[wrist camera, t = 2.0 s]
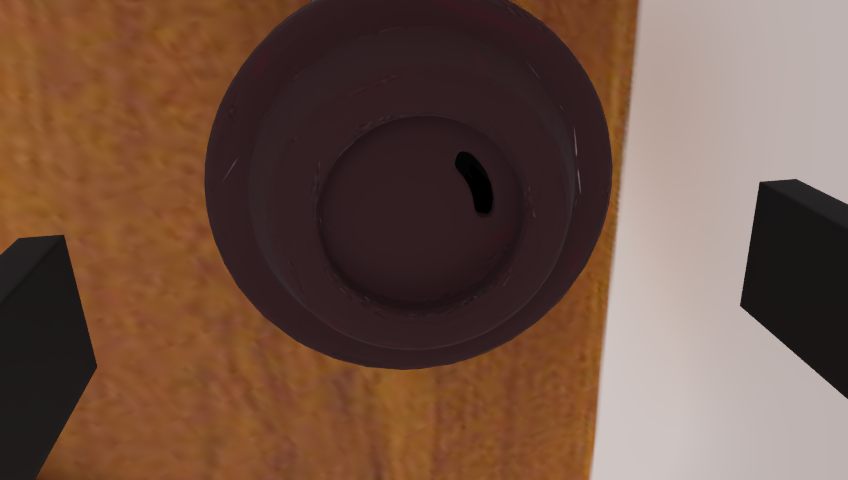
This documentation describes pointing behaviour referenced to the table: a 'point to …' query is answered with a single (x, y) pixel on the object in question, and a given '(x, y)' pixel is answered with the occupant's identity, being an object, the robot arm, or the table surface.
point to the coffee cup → (408, 177)
